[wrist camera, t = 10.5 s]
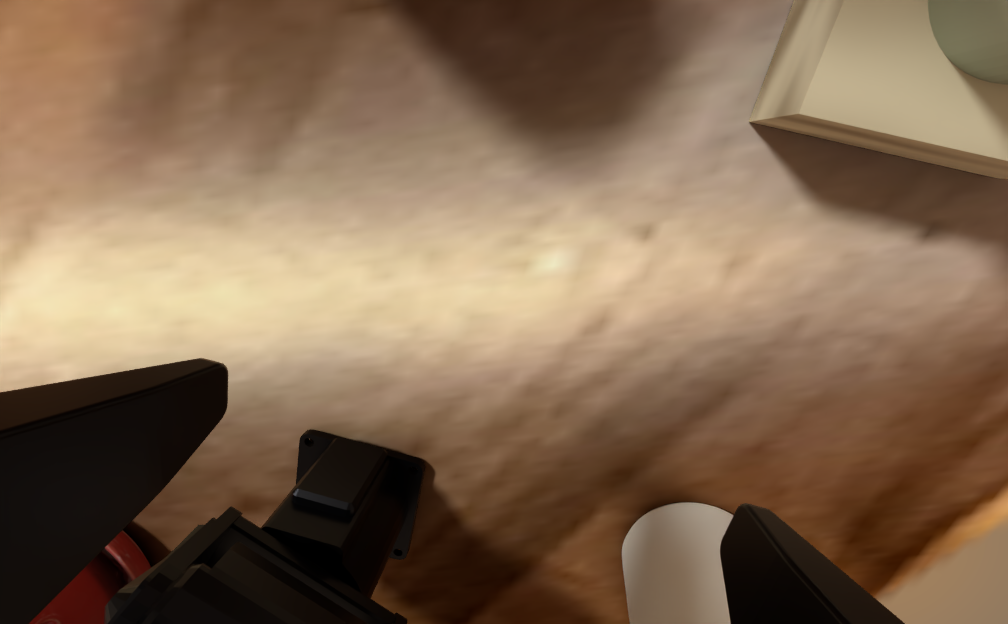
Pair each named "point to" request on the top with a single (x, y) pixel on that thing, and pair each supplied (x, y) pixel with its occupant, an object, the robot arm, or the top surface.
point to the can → (676, 566)
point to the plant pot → (96, 584)
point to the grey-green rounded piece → (973, 36)
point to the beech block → (882, 86)
